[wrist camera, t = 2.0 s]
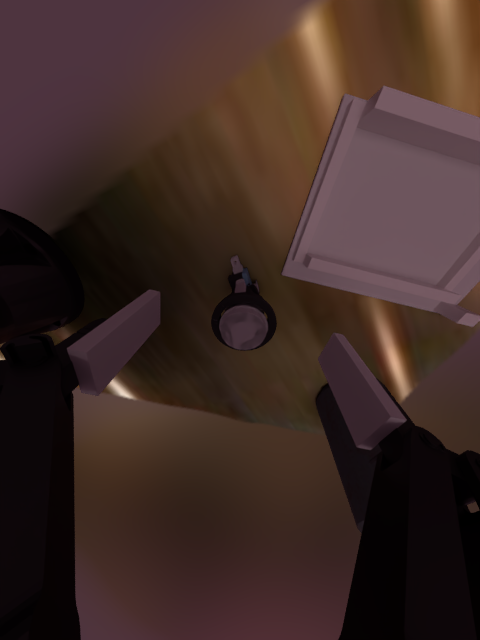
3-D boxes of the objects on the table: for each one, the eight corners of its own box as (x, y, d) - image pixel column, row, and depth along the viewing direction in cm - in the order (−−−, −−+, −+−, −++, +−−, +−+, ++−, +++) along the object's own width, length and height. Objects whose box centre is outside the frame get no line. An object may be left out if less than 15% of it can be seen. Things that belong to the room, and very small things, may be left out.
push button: (214, 262, 21) (189, 296, 13) (257, 247, 20) (263, 272, 12) (233, 310, 24) (223, 363, 16) (272, 299, 23) (284, 350, 15)
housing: (281, 274, 22) (285, 283, 19) (342, 96, 14) (366, 66, 11) (444, 313, 23) (472, 328, 20) (575, 171, 16) (649, 162, 13)
